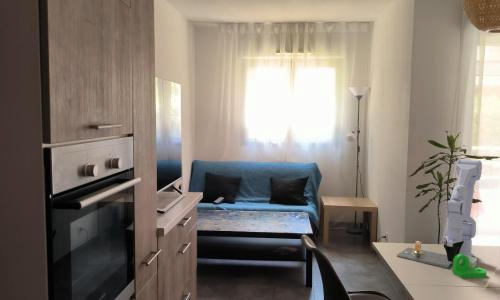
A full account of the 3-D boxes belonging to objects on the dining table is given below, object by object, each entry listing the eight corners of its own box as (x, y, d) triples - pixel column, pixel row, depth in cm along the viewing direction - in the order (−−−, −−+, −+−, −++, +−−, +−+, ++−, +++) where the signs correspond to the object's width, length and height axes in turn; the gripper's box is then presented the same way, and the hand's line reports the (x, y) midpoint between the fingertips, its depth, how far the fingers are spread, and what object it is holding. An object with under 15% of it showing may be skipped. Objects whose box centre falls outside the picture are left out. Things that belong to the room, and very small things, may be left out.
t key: (414, 254, 196) (414, 244, 195) (415, 250, 202) (416, 240, 201) (419, 255, 195) (420, 245, 194) (421, 251, 201) (421, 241, 200)
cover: (458, 261, 190) (459, 253, 190) (476, 266, 186) (477, 257, 185) (453, 267, 183) (454, 258, 183) (471, 272, 179) (472, 263, 178)
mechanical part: (461, 278, 172) (462, 258, 171) (452, 273, 178) (453, 253, 177) (489, 277, 173) (490, 258, 173) (480, 272, 179) (481, 253, 179)
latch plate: (407, 249, 207) (408, 246, 207) (456, 259, 194) (457, 256, 194) (396, 257, 196) (396, 254, 195) (448, 268, 182) (448, 265, 182)
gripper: (449, 223, 194) (447, 253, 195) (440, 229, 183) (438, 261, 184) (466, 225, 190) (464, 256, 191) (458, 232, 179) (456, 265, 180)
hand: (453, 259), depth 187 cm, fingers open, 7 cm apart
